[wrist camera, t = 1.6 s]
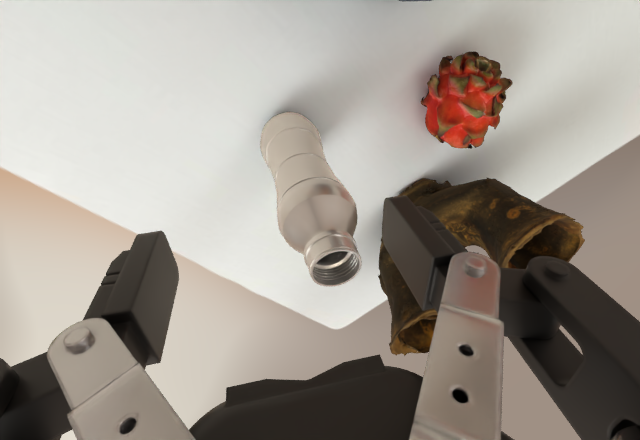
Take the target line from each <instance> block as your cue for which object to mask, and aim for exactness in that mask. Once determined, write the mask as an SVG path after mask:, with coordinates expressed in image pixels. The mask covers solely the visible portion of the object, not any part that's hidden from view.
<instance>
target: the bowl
mask: <svg viewBox="0 0 640 440" xmlns="http://www.w3.org/2000/svg"><path fill="white" fill-rule="evenodd" d="M399 1H431V0H399Z"/></svg>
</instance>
